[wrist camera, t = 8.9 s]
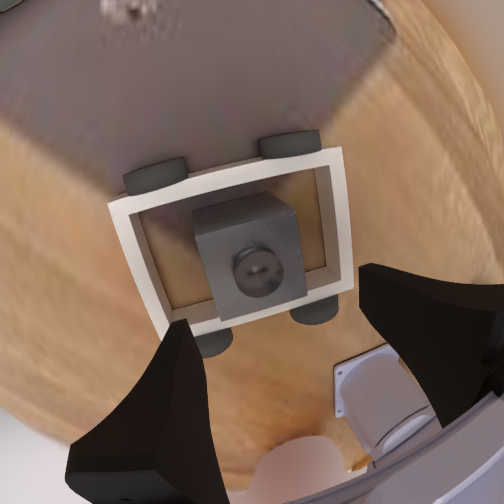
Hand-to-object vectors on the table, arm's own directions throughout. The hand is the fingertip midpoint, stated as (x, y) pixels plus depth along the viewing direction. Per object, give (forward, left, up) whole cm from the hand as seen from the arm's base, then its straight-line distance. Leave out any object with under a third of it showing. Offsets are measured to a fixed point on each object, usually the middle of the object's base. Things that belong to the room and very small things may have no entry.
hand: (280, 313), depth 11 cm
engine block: (0, 0, -10) cm, 10 cm away
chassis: (0, 0, -9) cm, 9 cm away
